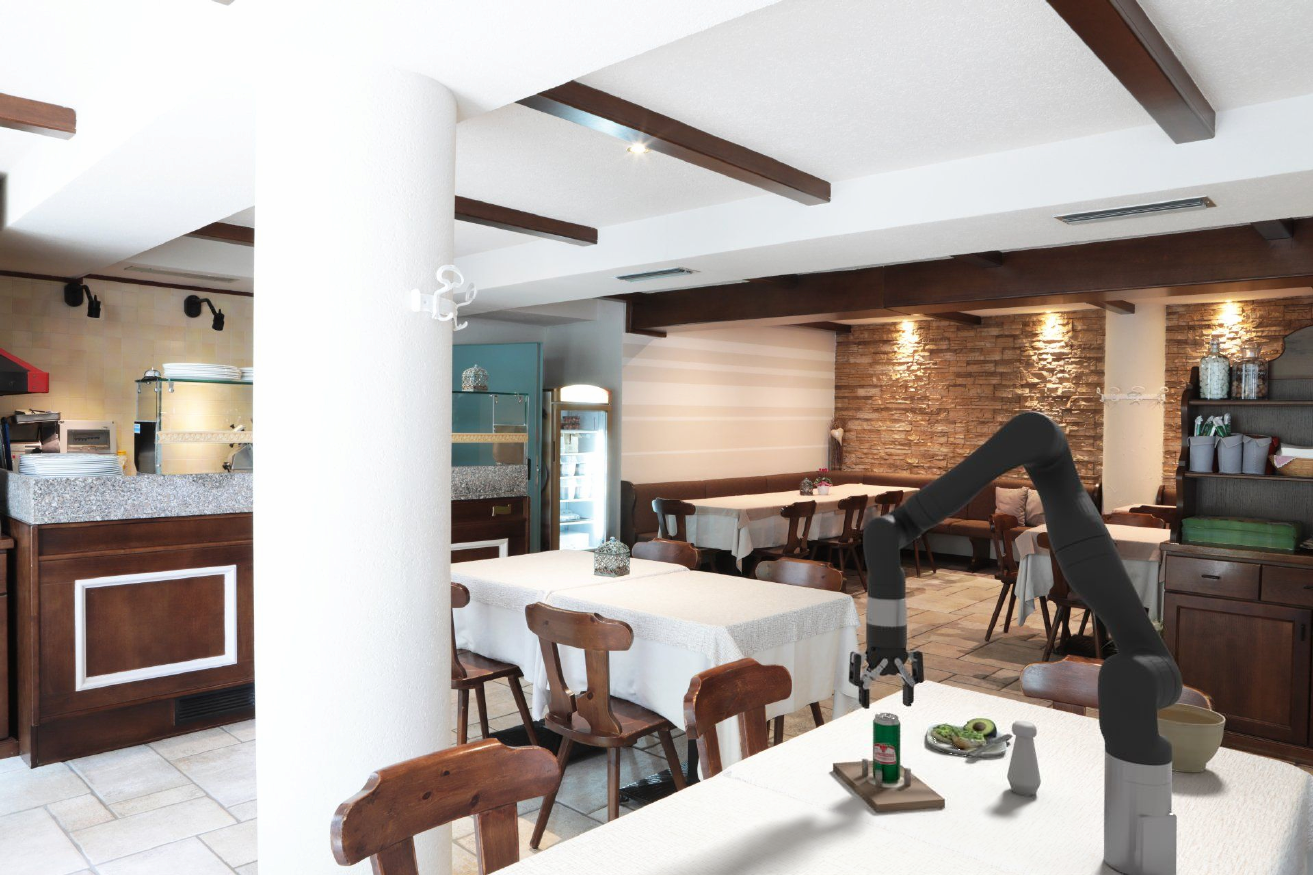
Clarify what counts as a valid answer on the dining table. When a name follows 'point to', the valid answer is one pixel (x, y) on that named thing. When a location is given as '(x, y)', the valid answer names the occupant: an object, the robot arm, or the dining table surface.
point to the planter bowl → (1191, 735)
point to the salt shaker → (1024, 760)
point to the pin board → (888, 788)
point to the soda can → (886, 746)
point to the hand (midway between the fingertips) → (886, 706)
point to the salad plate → (970, 738)
